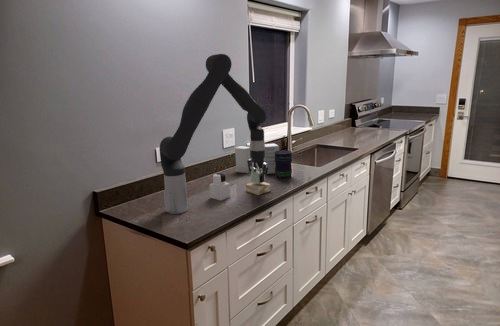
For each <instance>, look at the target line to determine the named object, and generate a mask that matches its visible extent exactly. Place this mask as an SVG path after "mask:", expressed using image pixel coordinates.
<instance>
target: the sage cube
mask: <svg viewBox="0 0 500 326" xmlns="http://www.w3.org/2000/svg"><path fill="white" fill-rule="evenodd" d="M250 176H251V177H250V180H251V181H250V183H252V182H253V183H256V184H260V174H259V171H258V170H257V171H255V172H252V173H251V172H250ZM264 182H265V183H266V175H264ZM262 183H263V182H262Z"/></svg>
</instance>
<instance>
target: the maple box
mask: <svg viewBox="0 0 500 326" xmlns="http://www.w3.org/2000/svg"><path fill="white" fill-rule="evenodd" d="M245 191H246V192H248V193H250V194H254V195H256V196H260V195H262V194H265V193H268V192H271V191H272V185H271V183H268V182H266V181H265V182H263V183H260V184H256V183H253V182H249V183H246V184H245Z"/></svg>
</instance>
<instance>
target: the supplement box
mask: <svg viewBox="0 0 500 326" xmlns="http://www.w3.org/2000/svg"><path fill="white" fill-rule="evenodd" d="M275 151H280V145H278V144H276V143H265V158H264V162H265V163H266V164H267V163H268V164H269V166H268V172H267V174H266V175H269V174H271V175H272V174H275ZM261 169H262V168H261Z"/></svg>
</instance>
